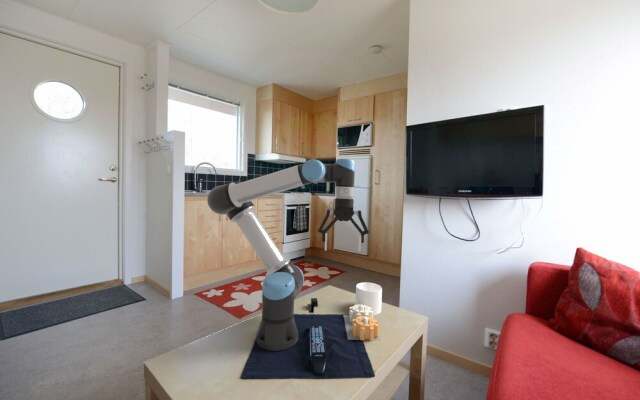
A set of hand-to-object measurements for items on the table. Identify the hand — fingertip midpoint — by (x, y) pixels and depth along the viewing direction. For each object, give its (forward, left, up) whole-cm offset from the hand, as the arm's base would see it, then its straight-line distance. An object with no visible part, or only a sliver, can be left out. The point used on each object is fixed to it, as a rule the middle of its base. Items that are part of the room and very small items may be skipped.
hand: (342, 250), depth 108 cm
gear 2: (+9, -7, -30) cm, 32 cm away
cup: (+14, +14, -32) cm, 38 cm away
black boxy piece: (-11, +17, -32) cm, 38 cm away
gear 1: (+9, +3, -30) cm, 32 cm away
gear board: (+8, -2, -32) cm, 33 cm away
